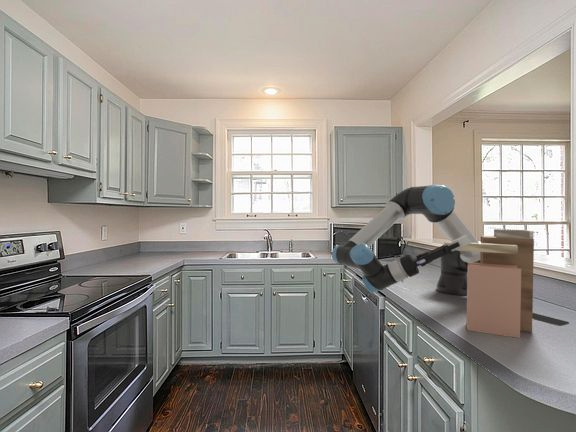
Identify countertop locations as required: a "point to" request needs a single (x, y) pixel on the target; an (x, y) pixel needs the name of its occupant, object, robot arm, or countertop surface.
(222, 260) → the countertop surface
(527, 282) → the stand
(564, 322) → the smartphone
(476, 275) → the pink rectangular box
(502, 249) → the slat
